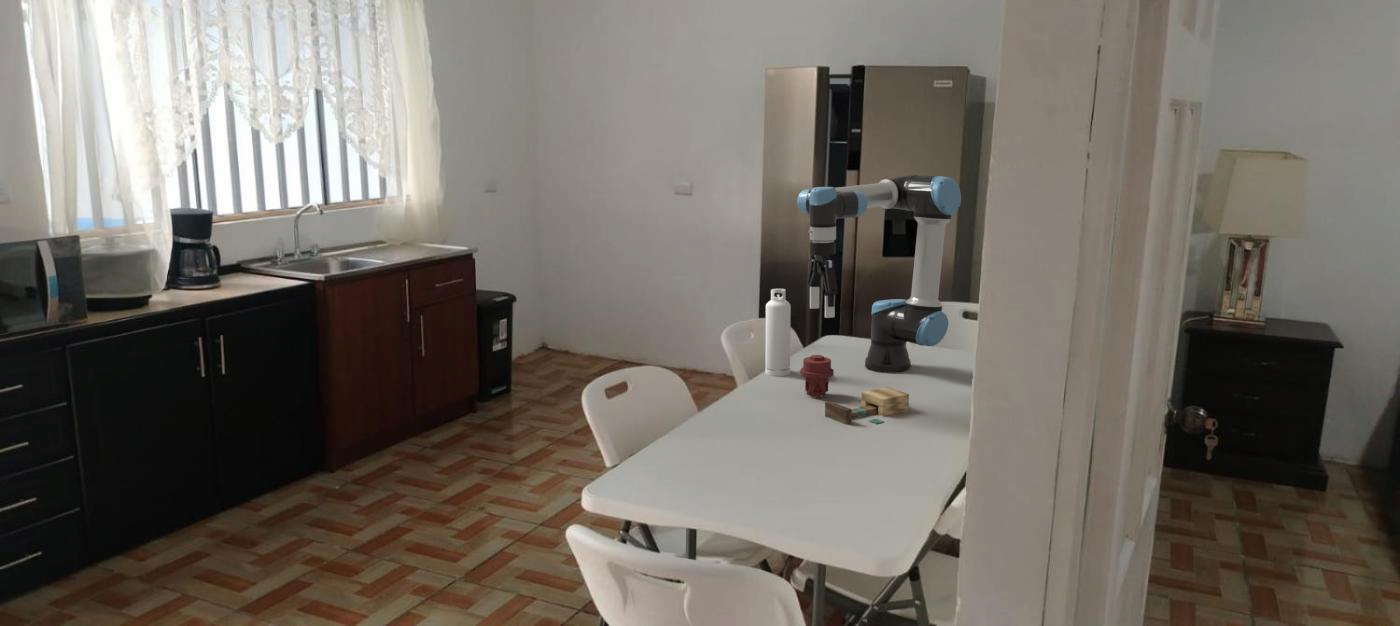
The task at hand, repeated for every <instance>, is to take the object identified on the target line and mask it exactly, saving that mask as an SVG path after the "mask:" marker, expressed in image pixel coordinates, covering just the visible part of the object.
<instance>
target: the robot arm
mask: <svg viewBox="0 0 1400 626" xmlns="http://www.w3.org/2000/svg"><path fill="white" fill-rule="evenodd" d="M796 203H797V208H798V210H799V211H800V212H801V213H802V214H803V213H804V214H808V215H809V230H808V234H809V240H811V241H809V255H810V264H809V268H808V269H809V271H808V275H807V284H808V285H809V309H811V310H812V309H814V310H815V309H820V286H821V283H820V281H821V277H822V282H823V285H824V289H825V292H824V294H823V296H824V318H826V319H830V318H835V315H836V313H835V312H836V311H835V310H836V309H835V308H836V307H835V304H836V303H835V302H836V295H838V294H839V287H838V282H837V276H836V268H835V260H831V258H830V257H831V256H834V255H835V254H836V249H837V248H836V247H837V243H836V241H835V240H837V220H838V219H850V218H853V219H854V218H857V217H861V216H863V215H864V214H865V213H866V211H867V209H872V208H883V209H886V210H888V209H889V210H890V209H895V210H903V211H909V212H910V211H911V212H913V218H914V219H915V221H916V222H917V229H916V242H915V253H914V261H913V262H914V264H913V273H912V281H911V282H912V283H911V291H910V298H908V299H904V298H903V299H901V298H899V299H898V298H895V299H894V298H893V299H883V300H877V301H875V302H873V304H872V305H871V313H870V315H871V316H870V346H869V348H868V352H867V357H865V360H864V368H866V369H868V370H870V371H874V372H878V373H889V374H890V373H892V374H893V373H894V374H896V373H903V372H907V371H908V372H909V370H911V366H912V364H911V361H912V360H911V359H910V356H909V353H908V348H907V342H908V343H912V344H916V345H919V346H925V347H926V346H927V347H935V346H936V345H937V344H940V343H941V341H942V340H943V339H944V338H945V336H946V334H947V332H948V328H949V319H948V316H947V314H946V313H944V312H943V304H942V302H941V301H940V300H939V295H940V294H939V293H940V283H941V275H942V265H943V263H942V262H943V253H944V243H945V233H946V225H947V224H948V223H949V222H950V221H952V215H953V214H956V213H957V212H958V210H959V208H960V206H961V203H962V194H961V189H960V186H959V185H958V184H957V182H956V181H955V180H954V179H953V178H951V177H948V176H943V175H942V176H941V175H919V174H918V175H917V174H909V175H904V176H897V177H892V178H885V179H882V180H879V182H877V183H867V184H856V185H848V186H841V187H840V186H839V187H833V186H816V187H812V188H809V189H808V188H807V189H803V190H801V192H800V193H799V194H798V197H797V202H796Z"/></svg>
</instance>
